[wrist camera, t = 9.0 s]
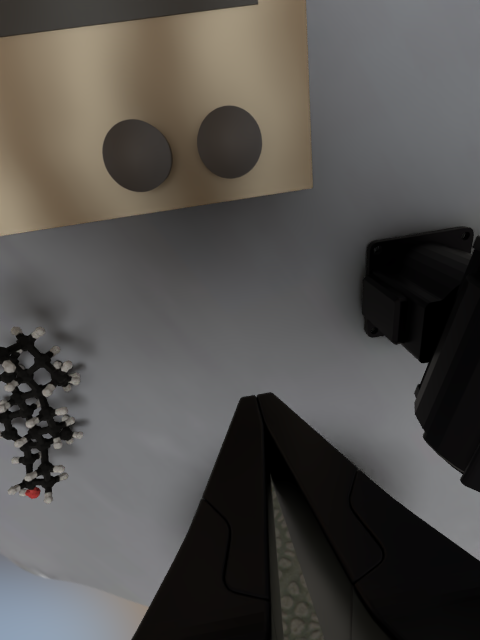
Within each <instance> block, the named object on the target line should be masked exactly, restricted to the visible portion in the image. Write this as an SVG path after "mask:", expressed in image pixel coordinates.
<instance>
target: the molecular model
mask: <svg viewBox="0 0 480 640" xmlns="http://www.w3.org/2000/svg"><path fill="white" fill-rule="evenodd" d="M11 333H12V335H15V336H16V338H17V339H18V340H17V343H16V344H14V345H11V346H9V347H7V348H5V347H0V364H2V366H3V367H4V370H5V371H4V372H3V373H2V374H1V375H0V381H3V382H5V383H7V385H5V386H4V387H5V390H6V391H7V392H12V393H13V394H12V395H11V396H10V398H11V399H10V400H9V401H7V400H4V399H3V400H1V401H0V412H1V413H0V422H1V423H4V426H5V431H2V432H1V431H0V438H2V437H3V438H5V439H7V440H11V439H12V440H13V441H15V443H14V446H15V447H18V448H20V450H21V451H23V452H24V457H13V458H12V460H11V461H12V464H17V463H23V464H24V465H26V476H25V478H24V480H23V482H22V483H20V484H17V485H15V486H14V487H11V488H10V489H9V490H8V494H10V495H13V494H15V493H16V492H18V491H19V496H29V497H30V498H32V499H33V498H37V497H38V496H39V494H40V489H39V488H37V487H36V486H35V485H42V487H43V488H45V499H44V502H45V503H47V504H49V503H51V502H52V501H53V497H52V487H53V485H54V484H55V483H56V482H59V481H62V480H66V479H67V478H68V474H67V473H62V472H63V471H64V469H65V467H64V466H63V465H59V466H53V465H52V464H51V463H50V462H49V459H48V450H47V449H48V448H49V447H50V445H51V444H53V443H54V444H53V445H54V448H55V449H60V448H61V447H62V442H61V439H62V440H66V443H67V444H72V443H73V438H78V439H80V438H82V437H83V433H82V432H72V431H71V430H70V428H69V425H72V424H73V423H75V418H74V417H70V418H69V416H67V415H65V414H67V413H68V409H67V407H61V408H59V409H53V408H52V407H49V405H48V402H47V399H46V397H48V396H50V395H52V392H53V390H54V389H55V388H56V386H57V385H58V386H62V387H63V388H64V391H66V392H68V391H70V390H71V385H69V383H72V384H73V385H78V384H79V383H80V374H79V373H74V374H70V375H67V374H68V373H67V372H68V370H69V369H71V368H72V362H70V361H66V362H64V363H63V366H61V362H58V361H56V362H55V363H53V365H54V366H53V365H52V364H51V363H50V361H51V359H50V358H51V357H54V356H55V355H56V354H57V353H59V352H60V348H59V347H57V346H54V347H52V348H51V350H50V351H48V352H47V353H46V354H43V353H40V352H39V351H38V350H37V349H36V348H35V347H34V341H35V340H36V339H38V338H39V337H40V336H43V335H44V334H45V330H44V328H42V327H38V328H36V331H34V332H33V333H31V334H30V335H29V336H25V335H24V334H23V332H22V331H21V329H20V327H13V328H12V329H11ZM27 350H28V351H29V352H30V353H31V354H32V355H33V356H34V357H35V358H34V363H35V364H34V365H32V366H31V367H30V368H29V369H25V368H24V366H21V365H18V363H19V360H18V357H19V356H20V354H21V352H22V351H27ZM10 355H11V356H10ZM43 367H44V368H45V369H46V370H47V371H48V372H49V373H51V379H52V380H51V382H49V383H48V384H46V385H44V386H43V385H38V384H37V383H36V382H35V381H34V380H33V376H34V374H33V373H34V372H35V371H37V370H38V369H39V368H43ZM16 377H17V378H16ZM21 383H27V384H28V385H29V387H30V388H31V389H32V391H29V392H25V393H24V392H21V391H19V389H18V387H17V386H19V385H20V384H21ZM31 397H35V398H36V399H38V400H37V402H36V403H33V404H32V405H27V404H26V403H25V400H26V399H28V398H31ZM13 405H18V406H19V407H20V410H18V411H15V412H11V411H8V408H10V407H12V406H13ZM40 406H41V408H42V410H41V411H40V412H39V415H38V416H36V417H34V418H33V417H32V414H33V412H34V410H35V409H37V408H38V407H40ZM57 415H64V416H63V417H62V422H60V423H59V422H55V421H54V419H53V417H54V416H57ZM16 417H22V418H26V421H27V422H26V427H28V428H30V429H29V431H28V434H27V435H25V436H24V437H23V438H22V437H20V436H19V435H18V434H17V429H15V428H14V427H12V424H11V420H12V419H13V418H16ZM41 421H47V423H48V426H47V427H43V428H41V427H40V426H37V425H36V424H37V423H39V422H41ZM62 428H63V429H62ZM61 429H62V430H61ZM60 431H61V432H60ZM59 432H60V433H59ZM47 433H49V434H50V435H51V436H52V438H50V439H46V438H43V436H42V435H43V434H47ZM31 439H32V440H33V439H36V440H37V442H33V441H32V440H31ZM32 448H37V449H38V450H39V451H41V452H38V453H36V454H32V453H31V449H32ZM39 458H41V465H40V466H39V467H38V469H37V470H35V471H34V472H33V463H34V462H35V461H36V460H37V459H39ZM50 472H59V473H62V474H60V475H58V476H55V477H53V476H51V475H50ZM40 475H43V476H44V479H36V477H38V476H40ZM23 488H27V489H29V490H26V489H23Z"/></svg>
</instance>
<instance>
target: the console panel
mask: <svg viewBox="0 0 480 640" xmlns="http://www.w3.org/2000/svg"><path fill="white" fill-rule="evenodd" d="M310 188H313V180H312V153H311V126H310V99H309V72H308V45H307V18H306V0H0V236H3V235H10V234H17V233H23V232H30V231H36V230H43V229H49V228H56V227H62V226H69V225H75V224H82V223H88V222H95V221H101V220H108V219H114V218H121V217H127V216H134V215H140V214H147V213H154V212H160V211H167V210H173V209H180V208H186V207H193V206H199V205H206V204H212V203H219V202H225V201H232V200H238V199H245V198H251V197H258V196H264V195H271V194H278V193H284V192H291V191H297V190H304V189H310Z"/></svg>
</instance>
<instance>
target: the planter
mask: <svg viewBox="0 0 480 640" xmlns="http://www.w3.org/2000/svg"><path fill="white" fill-rule="evenodd" d="M270 476H271V475H270ZM271 484H272V495H273V507H274V520H275V533H276V546H277V559H278V572H279V584H280V597H281V610H282V623H283V636H284V640H325V639H324V636H323V633H322V630H321V627H320V624H319V621H318V618H317V615H316V612H315V609H314V606H313V603H312V600H311V597H310V594H309V591H308V588H307V585H306V582H305V579H304V576H303V573H302V570H301V567H300V564H299V561H298V558H297V555H296V552H295V549H294V546H293V543H292V540H291V537H290V534H289V531H288V528H287V525H286V522H285V519H284V516H283V513H282V510H281V507H280V504H279V501H278V498H277V495H276V492H275V489H274V486H273V483H272V479H271Z"/></svg>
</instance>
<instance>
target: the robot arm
mask: <svg viewBox="0 0 480 640" xmlns="http://www.w3.org/2000/svg"><path fill="white" fill-rule="evenodd" d="M464 233H465V236H464V237H463V238H462V235H463V234H464ZM473 236H474V232H473V230H472V229H471V228H468V227H457V228H450V229H444V230H438V231H432V232H426V233H419V234H413V235H407V236H401V237H395V238H388V239H382V240H376V241H373V242H371V243H370V244H369V245H368V247H367V263H366V276H365V277H364V279H363V297H362V314H363V315H364V316H365V332H366V334H367V335H368V336H369V337H379V336H386V337H387V338H388V339H389V340H390V341H391V342H392V343H394V344H395V345H397V344H401V345H402V346H404V347H405V348H406V349H407V350H408V351H409V352H410V353H411V354H412V355H413V356H414V357H415V358H416V359H418V360H419V361H420V362H421V363H428V362H429V363H428V366H427V368H426V371H425V373H424V376H423V378H422V381H421V383H420V384H418V385H417V388H416V390H415V393H414V394H415V397H416V400H415V415H416V417H417V419H418V421H419V423H420V424H421V426H422V428H423V429H424V431H425V432H424V434H423V438H424V440H425V441H426V442H427V444H428V445H429V446H430V447H431V448H432V449H433V450H434V451H435V452H436V453H437V454H438V455H439V456H441V457H442V458H443V459H444V460H445V461H446V462H447V463H449V464H450V465H451V466H452V467H453V468H455V469H456V470H457V471H459V472H460V473H462V474H463V475H462V477H461V479H460V481H461V483H462V484H463V485H465V486H467V487H469V488H471V489H474V490H476V491H478V492H480V236H477V237H476V240H475V242H474V245H473V248H474V252H473V254H471V248H472V242H473ZM377 246H379V250H378V251H377V252H376V253H374V249H375V248H376V247H377ZM374 327H375V330H374V331H372V332H371V329H372V328H374ZM270 475H271V476H270ZM271 479H272V483H273V486H274V489H275V492H276V495H277V498H278V501H279V504H280V507H281V510H282V513H283V516H284V519H285V522H286V525H287V528H288V531H289V534H290V537H291V540H292V543H293V546H294V549H295V552H296V555H297V558H298V561H299V564H300V567H301V570H302V573H303V576H304V579H305V582H306V585H307V588H308V591H309V594H310V597H311V600H312V603H313V606H314V609H315V612H316V615H317V618H318V621H319V624H320V627H321V630H322V633H323V636H324V639H325V640H480V561H479V560H477V559H476V558H475V557H473V556H472V555H470V554H469V553H468V552H466V551H465V550H463V549H462V548H461V547H459V546H458V545H457V544H455V543H454V542H452V541H451V540H450V539H448V538H447V537H445V536H444V535H443V534H441V533H440V532H438V531H437V530H436V529H434V528H433V527H431V526H430V525H429V524H427V523H426V522H425V521H423V520H422V519H420V518H419V517H418V516H416V515H415V514H413V513H412V512H411V511H409V510H408V509H407V508H406V507H404V506H403V505H402V504H400V503H399V502H398V501H396V500H395V499H394V498H392V497H391V496H390V495H389V494H387V493H386V492H385V491H384V490H383V489H381V488H380V487H379V486H378V485H377V484H375V483H374V482H373V481H372V480H371V479H370V478H368V477H367V476H366V475H365V474H364V473H363V472H362V471H361V470H358V468H357V467H356V466H355V465H354V464H352V463H351V462H350V461H349V460H348V459H347V458H346V457H345V456H343V455H342V454H341V453H340V452H339V451H338V450H337V449H335V448H334V447H333V446H332V445H331V444H330V443H329V442H328V441H326V440H325V439H324V438H323V437H322V436H321V435H320V434H318V433H317V432H316V431H315V430H314V429H313V428H312V427H311V426H309V425H308V424H307V423H306V422H305V421H304V420H303V419H301V418H300V417H299V416H298V415H297V414H296V413H295V412H294V411H292V410H291V409H290V408H289V407H288V406H287V405H286V404H285V403H283V402H282V401H281V400H280V399H279V398H278V397H277V396H275V395H274V394H273V393H271V392H269V393H263V394H258V395H257V397H256V396H255V395H252V396H246V397H242V398H240V400H239V403H238V405H237V408H236V411H235V413H234V416H233V418H232V421H231V424H230V426H229V429H228V431H227V434H226V437H225V439H224V442H223V444H222V447H221V449H220V452H219V455H218V457H217V460H216V462H215V465H214V468H213V470H212V473H211V475H210V478H209V481H208V483H207V486H206V488H205V491H204V493H203V496H202V498H203V499H201V501H200V503H199V506H198V509H197V511H196V514H195V516H194V519H193V521H192V523H191V526H190V528H189V530H188V533H187V535H186V537H185V539H184V541H183V543H182V545H181V547H180V549H179V551H178V553H177V555H176V557H175V559H174V561H173V563H172V565H171V567H170V569H169V571H168V573H167V574H166V576H165V578H164V580H163V582H162V584H161V586H160V588H159V589H158V591H157V593H156V595H155V597H154V599H153V601H152V603H151V605H150V606H149V609H148V610H147V612H146V614H145V616H144V618H143V620H142V621H141V623H140V625H139V627H138V629H137V631H136V633H135V634H134V636H133V638H132V640H284V636H283V623H282V610H281V597H280V584H279V572H278V559H277V546H276V533H275V520H274V507H273V495H272V484H271Z"/></svg>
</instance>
